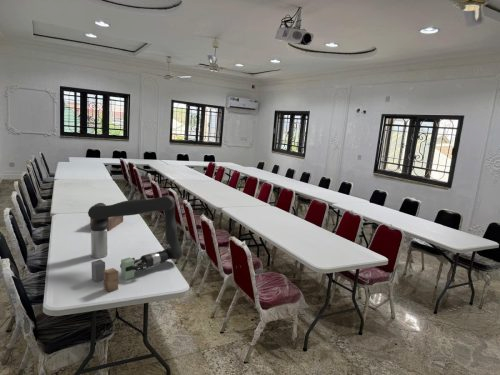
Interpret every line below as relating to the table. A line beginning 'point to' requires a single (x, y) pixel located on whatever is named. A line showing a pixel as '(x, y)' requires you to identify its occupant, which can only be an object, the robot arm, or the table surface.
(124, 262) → the sage block
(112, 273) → the walnut block
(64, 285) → the table surface
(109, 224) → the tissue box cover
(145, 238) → the table surface
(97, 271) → the charcoal block
